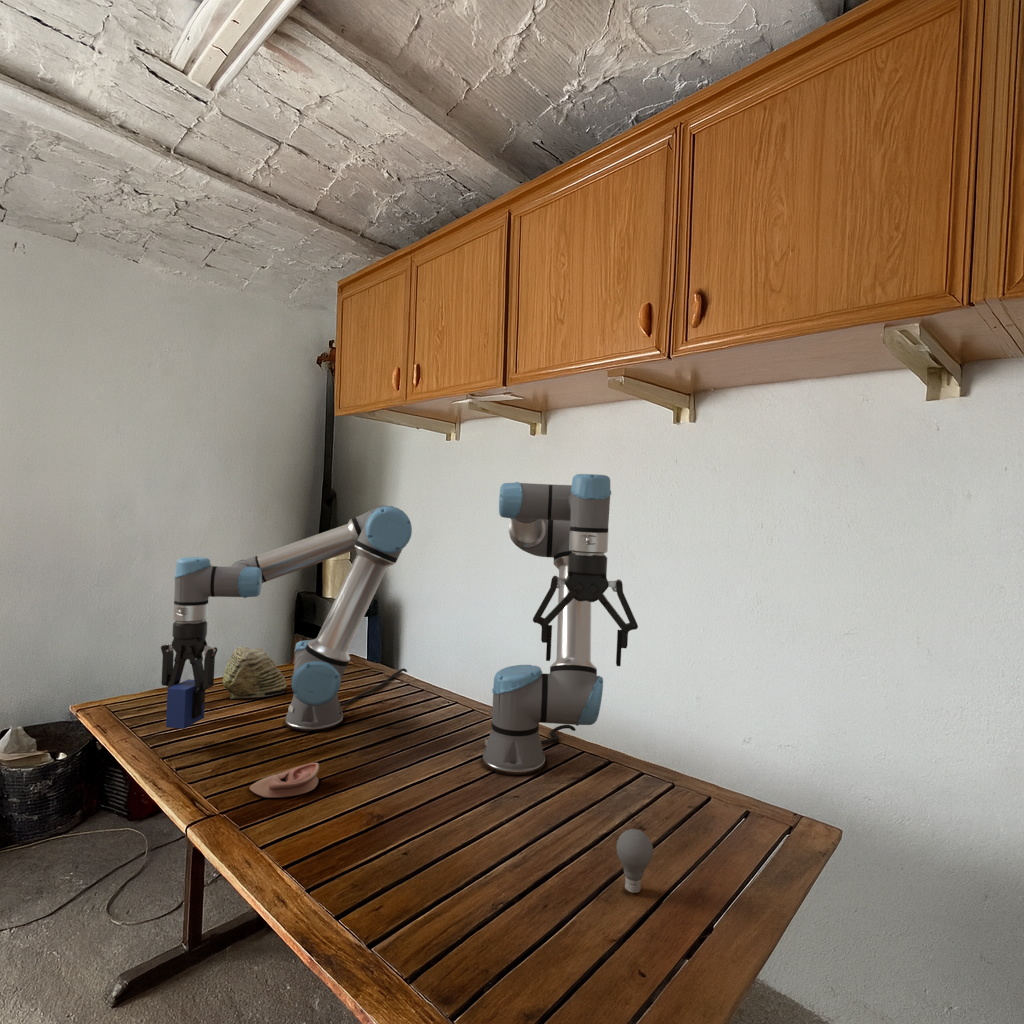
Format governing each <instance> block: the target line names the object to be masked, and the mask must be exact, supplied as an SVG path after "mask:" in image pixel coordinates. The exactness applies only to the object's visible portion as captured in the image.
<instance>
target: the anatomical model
mask: <svg viewBox="0 0 1024 1024" xmlns="http://www.w3.org/2000/svg"><path fill="white" fill-rule="evenodd" d="M319 770H320V764H319V763H318V762H310V763H307V764H303V765H299V766H297V767H294V768H290V769H288V770H285V771H282V772H279V773H276V774H272V775H269V776H266V777H264V778H261V779H259V780H257V781H255V782H254V783H253V784H251V785H250V786H249V790H250V792H251V793H253V794H256V795H257V796H259V797H263V798H266V799H267V798H268V799H274V798H275V799H276V798H286V797H288V798H289V797H293V796H299V795H303V794H306V793H308V792H310V791H313V790H314V789H316V787H317V786H318V784H319V778H318V777H317V775H318V773H319Z"/></svg>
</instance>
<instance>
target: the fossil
mask: <svg viewBox="0 0 1024 1024" xmlns="http://www.w3.org/2000/svg"><path fill="white" fill-rule="evenodd" d="M222 676H223V677H222V685H223V687H224V688H225V690H226V691H228V693H229V698H230V699H250V698H264V697H271V696H275V695H281V694H284V693H285V691H286V689H287V687H288V686H287V680H286V678H285V676H284V674H283V673H282V672H281V669H279V668H278V667H277V665H276V663H275V662H274V660H273V659H272V658H271V657H270V656H269V655H268V654H267V653H266V652H265V650H264V649H263V648H260V647H258V648H251V647H247V646H246V647H245V646H238V647H237V648H236V649H235V650H233V651H232V653H231V656H230V657H229V659H228V660H227V663H226V666H225V668H224V671H223V675H222Z"/></svg>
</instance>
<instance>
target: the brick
mask: <svg viewBox="0 0 1024 1024" xmlns="http://www.w3.org/2000/svg"><path fill="white" fill-rule="evenodd" d="M194 690H196V687H195V681H194V679H190V678H189V679H185V680H184V681H182V682H181V681H180V683H179V684H176V685H174V686H172V687H170V688H168V687H167V691H166V692H167V693H166V694H167V695H166V716H165V717H166V718H165V728H171V729H180V730H184V729H187V728H189V727H190V726H192V725H194V724H195V723H198V722H199V721H201V720H203V719H204V718H205V707H206V706H205V705H206V700H205V701H204V703H202V710H201V715H200V716H199V717H197V718H195V719H193V718H192V699H193V691H194Z"/></svg>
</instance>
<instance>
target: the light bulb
mask: <svg viewBox="0 0 1024 1024" xmlns="http://www.w3.org/2000/svg"><path fill="white" fill-rule="evenodd" d="M615 849H616V854H617V857H618V859H619V861H620V863H621V865H622V867H623V873H624V874H623V875H624V876H625V878H624V888H625V890H627V891H628V892H630V893H634V894H635V893H639V892H640V891H641V889H642V887H641V886H642V879H643V877H644V875H645V871H646V868H647V867H648V866H649V864H650V863H651V861H652V859H653V855H654V847H653V843H652V841H651V838H649V836H648V835H647V834H646V833H645V832H643V831H642V830H641V829H636V828H629V829H627V830H625V831H623V832H622V833H621V834H620V835H619V837H618V839H617V841H616V847H615Z"/></svg>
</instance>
